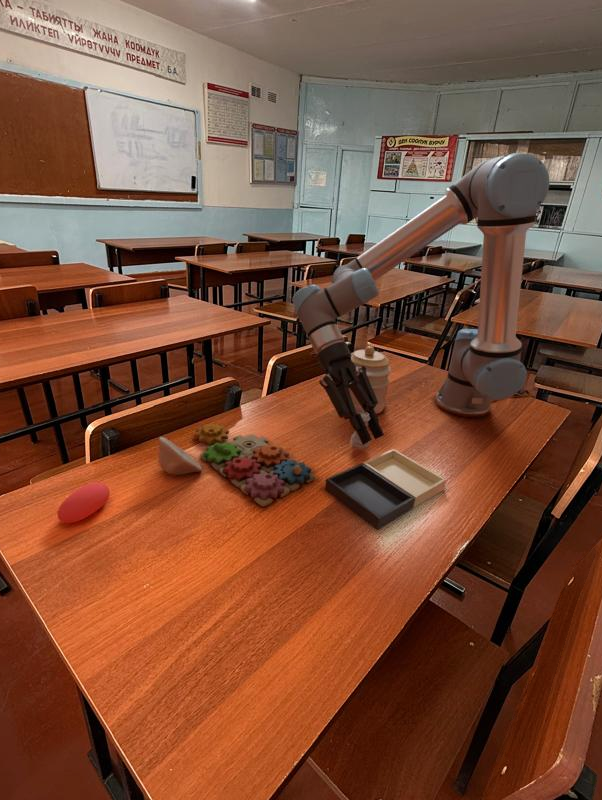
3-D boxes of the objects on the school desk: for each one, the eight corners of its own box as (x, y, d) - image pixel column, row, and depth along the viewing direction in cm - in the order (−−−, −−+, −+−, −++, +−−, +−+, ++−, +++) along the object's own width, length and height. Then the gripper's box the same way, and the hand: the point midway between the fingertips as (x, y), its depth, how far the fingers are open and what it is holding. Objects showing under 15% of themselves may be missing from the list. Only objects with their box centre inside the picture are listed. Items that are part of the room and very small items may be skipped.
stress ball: (119, 516, 78) (119, 480, 79) (70, 526, 70) (70, 487, 71) (101, 514, 81) (101, 479, 81) (52, 524, 73) (52, 485, 73)
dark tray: (360, 472, 94) (361, 462, 93) (412, 508, 84) (415, 498, 83) (324, 489, 88) (326, 478, 87) (377, 529, 78) (379, 518, 77)
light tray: (391, 457, 100) (393, 448, 99) (444, 489, 91) (446, 479, 90) (361, 472, 94) (362, 462, 93) (413, 507, 84) (416, 497, 83)
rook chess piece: (368, 450, 100) (372, 419, 96) (348, 447, 100) (352, 416, 97) (369, 440, 103) (374, 411, 100) (351, 437, 104) (355, 408, 101)
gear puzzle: (175, 440, 100) (174, 425, 98) (233, 420, 110) (233, 406, 109) (261, 510, 80) (262, 492, 79) (322, 478, 91) (323, 461, 89)
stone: (209, 465, 94) (210, 447, 86) (192, 492, 90) (191, 476, 82) (167, 442, 94) (164, 422, 86) (148, 469, 91) (143, 451, 82)
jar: (331, 398, 127) (337, 340, 119) (368, 393, 132) (377, 337, 125) (353, 419, 116) (362, 356, 109) (393, 412, 122) (404, 352, 114)
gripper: (346, 350, 110) (386, 434, 106) (295, 361, 100) (337, 455, 96) (364, 335, 104) (407, 424, 100) (312, 346, 94) (358, 445, 90)
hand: (373, 439), depth 98 cm, fingers closed on rook chess piece, 3 cm apart
